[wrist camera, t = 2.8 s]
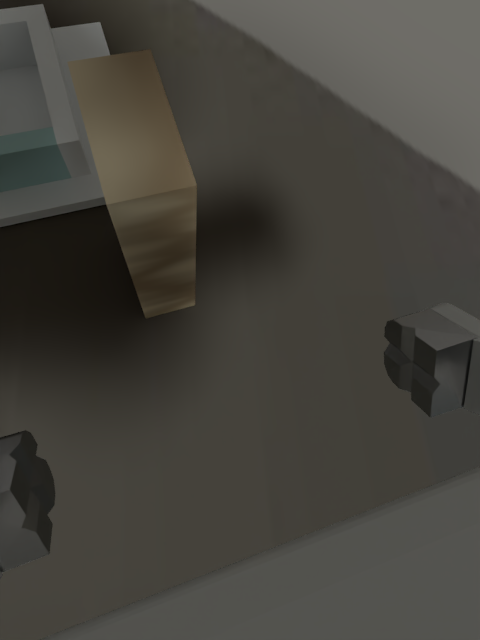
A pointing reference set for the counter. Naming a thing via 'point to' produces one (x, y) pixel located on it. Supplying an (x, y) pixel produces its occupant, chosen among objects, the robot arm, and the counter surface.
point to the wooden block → (142, 174)
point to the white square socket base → (44, 117)
